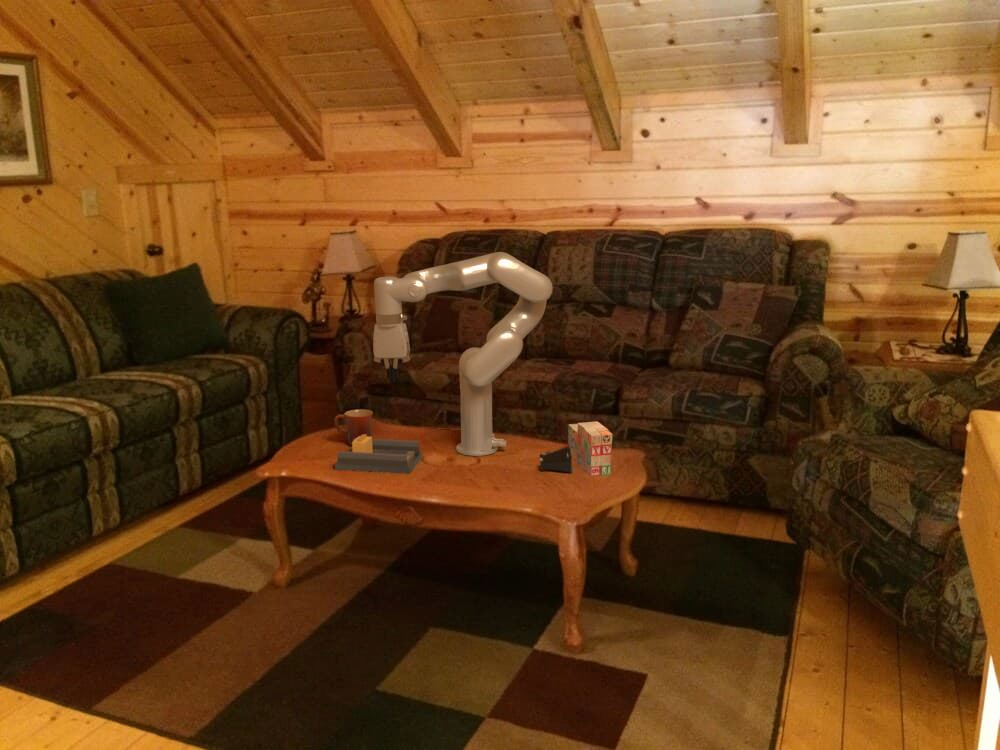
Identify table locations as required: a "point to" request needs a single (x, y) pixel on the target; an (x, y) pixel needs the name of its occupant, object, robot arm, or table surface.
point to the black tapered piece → (557, 460)
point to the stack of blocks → (591, 447)
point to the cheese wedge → (362, 444)
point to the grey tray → (380, 454)
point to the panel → (411, 463)
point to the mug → (356, 423)
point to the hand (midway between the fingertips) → (393, 380)
